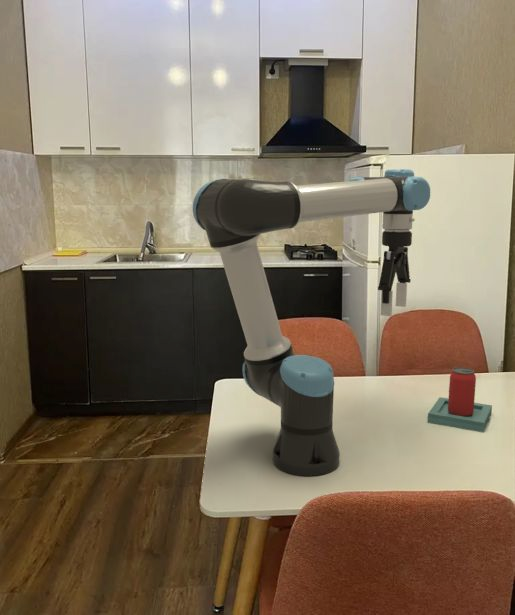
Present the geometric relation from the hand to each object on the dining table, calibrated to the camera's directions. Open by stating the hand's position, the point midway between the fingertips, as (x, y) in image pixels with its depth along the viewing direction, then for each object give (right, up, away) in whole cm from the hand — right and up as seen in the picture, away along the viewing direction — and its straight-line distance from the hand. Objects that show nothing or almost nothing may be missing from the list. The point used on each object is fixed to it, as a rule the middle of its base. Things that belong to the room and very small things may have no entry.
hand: (393, 310), depth 161 cm
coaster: (+18, -29, +2) cm, 34 cm away
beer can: (+18, -28, +1) cm, 33 cm away
